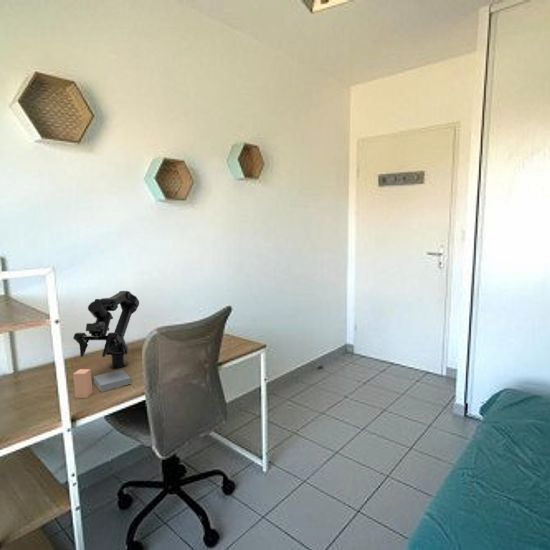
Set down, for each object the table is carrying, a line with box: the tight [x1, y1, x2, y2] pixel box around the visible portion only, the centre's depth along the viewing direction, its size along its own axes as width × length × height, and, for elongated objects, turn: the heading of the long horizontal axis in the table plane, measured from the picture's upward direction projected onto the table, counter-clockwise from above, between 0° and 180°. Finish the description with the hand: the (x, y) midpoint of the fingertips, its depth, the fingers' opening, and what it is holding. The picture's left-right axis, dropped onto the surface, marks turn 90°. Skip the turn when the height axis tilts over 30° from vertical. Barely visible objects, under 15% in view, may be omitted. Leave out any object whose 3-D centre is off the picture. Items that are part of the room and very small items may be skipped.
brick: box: [72, 368, 93, 399], centre depth 155 cm, size 5×5×10 cm
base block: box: [93, 369, 132, 393], centre depth 166 cm, size 12×12×3 cm
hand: (92, 356), depth 162 cm, fingers open, 9 cm apart
